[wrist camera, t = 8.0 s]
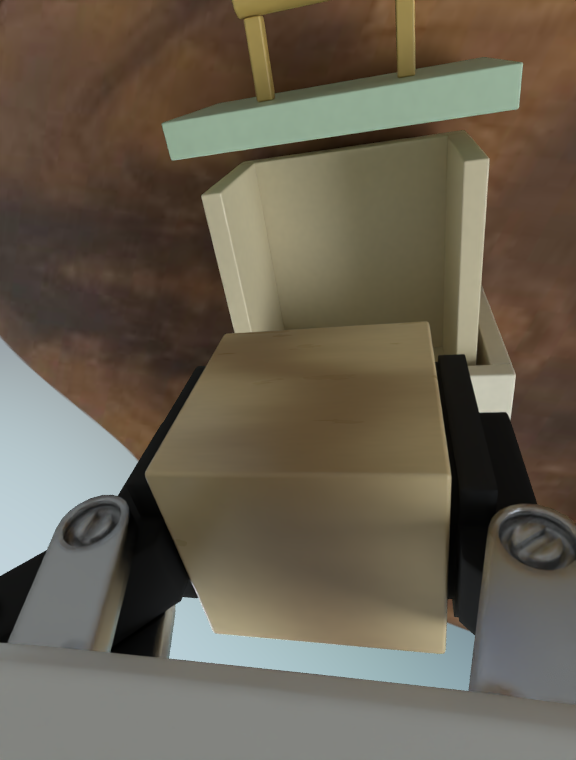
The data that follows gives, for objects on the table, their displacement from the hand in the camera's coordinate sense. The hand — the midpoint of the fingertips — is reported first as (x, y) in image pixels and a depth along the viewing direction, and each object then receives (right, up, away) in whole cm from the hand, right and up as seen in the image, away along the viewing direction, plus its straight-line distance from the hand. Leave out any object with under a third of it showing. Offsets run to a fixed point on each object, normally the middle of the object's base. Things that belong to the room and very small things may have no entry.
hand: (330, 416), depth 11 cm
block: (0, 0, 0) cm, 0 cm away
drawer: (+2, +10, +12) cm, 15 cm away
